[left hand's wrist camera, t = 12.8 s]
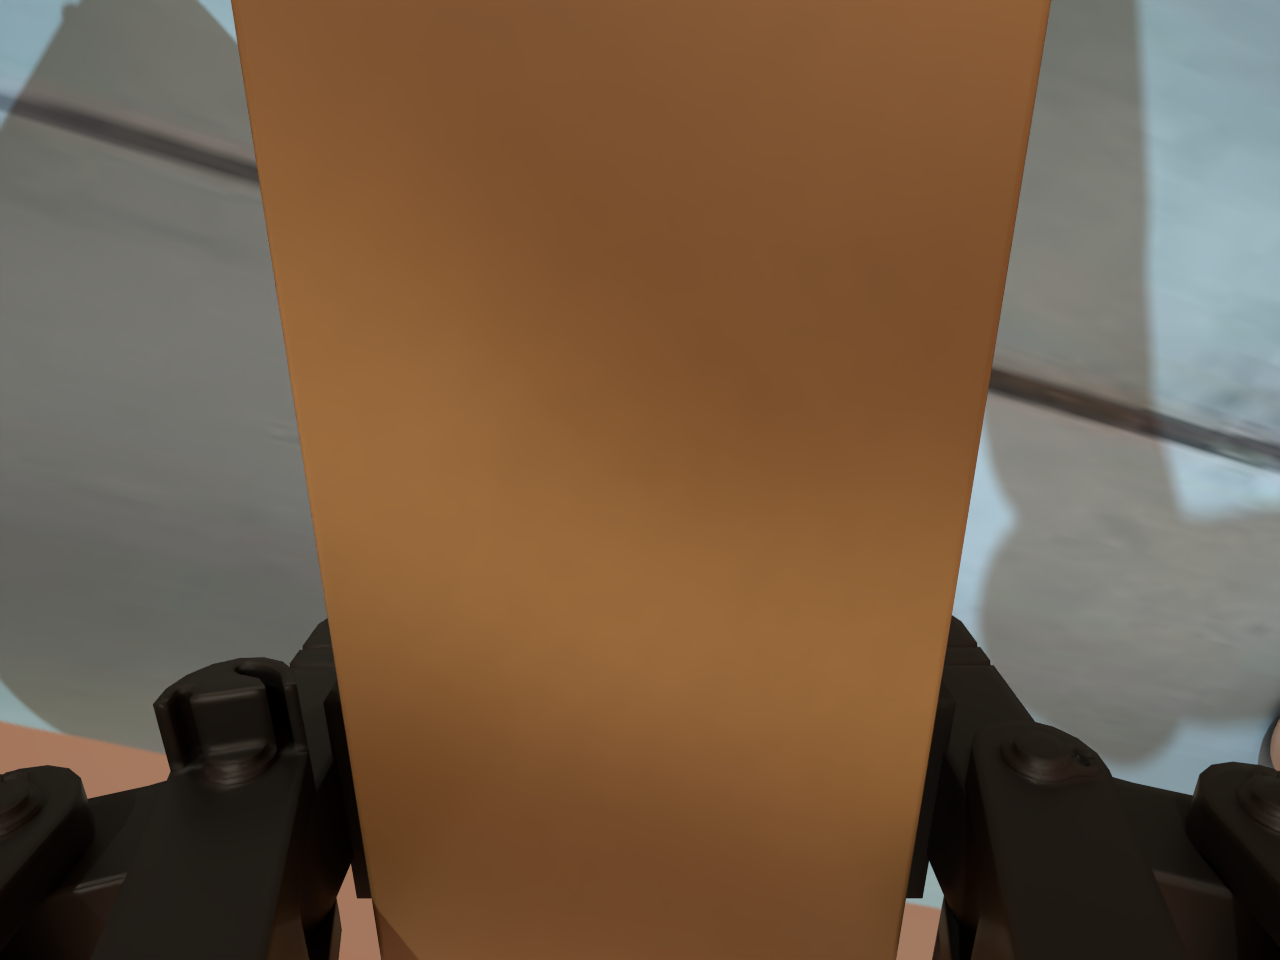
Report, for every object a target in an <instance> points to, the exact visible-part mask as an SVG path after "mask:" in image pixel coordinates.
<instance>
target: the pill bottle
mask: <svg viewBox="0 0 1280 960" xmlns="http://www.w3.org/2000/svg"><path fill="white" fill-rule="evenodd" d="M1270 754H1271V760H1272V764H1273V767H1274V769H1275V770H1277V771H1279V770H1280V719H1279V721H1278V723H1277V725H1276V727H1275V729H1274V732H1273V735H1272V739H1271V746H1270Z"/></svg>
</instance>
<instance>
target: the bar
mask: <svg viewBox="0 0 1280 960" xmlns="http://www.w3.org/2000/svg"><path fill="white" fill-rule="evenodd" d="M231 4H232V10H233V16H234V23H235V29H236V36H237V42H238V48H239V55H240V61H241V67H242V74H243V80H244V87H245V93H246V99H247V106H248V112H249V118H250V125H251V131H252V138H253V144H254V150H255V157H256V163H257V170H258V176H259V182H260V189H261V195H262V201H263V208H264V214H265V221H266V227H267V233H268V240H269V246H270V252H271V259H272V265H273V272H274V278H275V284H276V291H277V297H278V304H279V310H280V316H281V323H282V329H283V335H284V342H285V348H286V355H287V361H288V367H289V374H290V380H291V386H292V393H293V399H294V406H295V412H296V418H297V425H298V431H299V438H300V444H301V450H302V457H303V463H304V469H305V476H306V482H307V489H308V495H309V501H310V508H311V514H312V520H313V527H314V533H315V540H316V546H317V552H318V559H319V565H320V571H321V578H322V584H323V591H324V597H325V603H326V610H327V616H328V623H329V629H330V635H331V642H332V648H333V654H334V661H335V667H336V674H337V680H338V686H339V693H340V699H341V705H342V712H343V718H344V725H345V731H346V737H347V744H348V750H349V757H350V763H351V769H352V776H353V782H354V788H355V795H356V801H357V808H358V814H359V820H360V827H361V833H362V839H363V846H364V852H365V859H366V865H367V871H368V878H369V884H370V891H371V897H372V903H373V910H374V916H375V922H376V929H377V935H378V942H379V948H380V954H381V960H896V956H897V950H898V944H899V938H900V932H901V926H902V919H903V913H904V907H905V901H906V895H907V888H908V882H909V876H910V870H911V864H912V858H913V851H914V845H915V839H916V833H917V827H918V820H919V814H920V808H921V802H922V796H923V789H924V783H925V777H926V771H927V765H928V759H929V752H930V746H931V740H932V734H933V728H934V721H935V715H936V709H937V703H938V697H939V690H940V684H941V678H942V672H943V666H944V660H945V653H946V647H947V641H948V635H949V629H950V622H951V616H952V610H953V604H954V598H955V591H956V585H957V579H958V573H959V567H960V561H961V554H962V548H963V542H964V536H965V530H966V523H967V517H968V511H969V505H970V499H971V492H972V486H973V480H974V474H975V468H976V462H977V455H978V449H979V443H980V437H981V431H982V424H983V418H984V412H985V406H986V400H987V394H988V387H989V381H990V375H991V369H992V363H993V356H994V350H995V344H996V338H997V332H998V325H999V319H1000V313H1001V307H1002V301H1003V295H1004V288H1005V282H1006V276H1007V270H1008V264H1009V257H1010V251H1011V245H1012V239H1013V233H1014V226H1015V220H1016V214H1017V208H1018V202H1019V196H1020V189H1021V183H1022V177H1023V171H1024V165H1025V158H1026V152H1027V146H1028V140H1029V134H1030V127H1031V121H1032V115H1033V109H1034V103H1035V97H1036V90H1037V84H1038V78H1039V72H1040V66H1041V59H1042V53H1043V47H1044V41H1045V35H1046V29H1047V22H1048V16H1049V10H1050V4H1051V0H231Z"/></svg>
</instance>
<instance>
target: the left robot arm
mask: <svg viewBox="0 0 1280 960" xmlns="http://www.w3.org/2000/svg"><path fill="white" fill-rule="evenodd" d="M153 707H154V710H155V714H156V718H157V722H158V725H159V729H160V733H161V737H162V740H163V744H164V748H165V752H166V755H167V759H168V763H169V767H170V770H171V772H170V774H169V777H168V779H167V781H164V782H160V783H156V784H153V785H150V786H145V787H141V788H136V789H131V790H127V791H122V792H118V793H113V794H108V795H104V796H99V797H94V798H90V799H87V796H86V793H85V790H84V787H83V784H82V780H81V778H80V777H79V776H78V775H76V774H75V773H74V772H73V771H72V770H70V769H69V768H63V767H56V766H49V765H46V766H38V767H30V768H23V769H18V770H15V771H10V772H6V773H5V774H2V775H1V774H0V960H338V959H339V950H340V940H341V931H342V929H341V922H340V915H339V909H338V904H337V898H336V897H337V895H338V892H339V890H340V887H341V885H342V883H343V880H344V878H345V876H346V873H347V871H348V869H349V866H350V864H351V866H352V872H353V878H354V883H355V889H356V895H357V898H372V897H371V891H370V884H369V878H368V871H367V865H366V859H365V852H364V846H363V839H362V833H361V827H360V820H359V814H358V808H357V801H356V795H355V788H354V782H353V776H352V769H351V763H350V757H349V750H348V744H347V737H346V731H345V725H344V718H343V712H342V705H341V699H340V693H339V686H338V680H337V674H336V667H335V661H334V654H333V648H332V642H331V635H330V629H329V623H328V618H327V619H326V620H324V621H323V622H321V623H320V624H318V626H317V627H316V628H315V630H314V631H313V632H312V634H311V635H310V637H309V638H308V639H307V641H306V642H305V643H304V645H303V650H299V652H298V653H297V654H296V656H295V657H294V659H293V660H292V661H291V663H290V667H289V666H287V665H286V664H285V663H284V662H282V661H277V660H273V659H269V658H264V657H260V658H238V659H234V660H229V661H225V662H220V663H216V664H212V665H210V666H207V667H205V668H202V669H200V670H198V671H195V672H193V673H190V674H188V675H186V676H185V677H183V678H182V679H180V680H179V681H177V682H176V683H174V684H173V685H171V686H170V687H168V688H167V689H166V690H165V691H164V692H163V693H162V694H161V695H160V697H159V698H158V699H157V700H156V701H155V703H154V704H153ZM929 861H930V863H931V866H932V868H933V871H934V873H935V875H936V878H937V880H938V882H939V885H940V887H941V889H942V892H943V894H944V898H943V904H942V909H941V914H940V920H939V925H938V931H937V936H936V941H935V947H934V952H933V957H932V960H1280V770H1279V771H1277V770H1275V769H1273V768H1268V767H1265V766H1261V765H1254V764H1246V763H1239V762H1228V763H1221V764H1214V765H1211V766H1209V767H1208V768H1207V769H1206V770H1205V771H1203V772H1202V773H1201V774H1200V775H1199V778H1198V781H1197V784H1196V788H1195V791H1194V794H1193V796H1192V795H1188V794H1183V793H1178V792H1174V791H1169V790H1164V789H1160V788H1155V787H1150V786H1146V785H1141V784H1136V783H1132V782H1128V781H1125V780H1121V779H1118V778H1114V777H1112V775H1111V773H1110V771H1109V769H1108V768H1107V766H1106V765H1105V764H1104V762H1103V761H1102V759H1101V758H1100V757H1099V755H1098V754H1097V753H1096V752H1095V751H1093V750H1092V749H1091V748H1090V747H1088V746H1087V745H1086V744H1084V743H1083V742H1082V741H1080V740H1079V739H1078V738H1076V737H1074V736H1072V735H1070V734H1067V733H1065V732H1063V731H1061V730H1059V729H1057V728H1055V727H1052V726H1049V725H1045V724H1041V723H1037V722H1035V721H1034V720H1033V718H1032V717H1031V716H1030V714H1029V713H1028V712H1027V710H1026V709H1025V707H1024V706H1023V705H1022V703H1021V702H1020V701H1019V699H1018V698H1017V697H1016V695H1015V694H1014V692H1013V691H1012V690H1011V688H1010V687H1009V686H1008V684H1007V683H1006V682H1005V680H1004V679H1003V677H1002V676H1001V675H1000V673H999V672H998V671H997V669H996V668H995V667H994V665H990V660H989V658H988V657H987V656H986V654H985V653H984V652H983V650H982V649H981V648H980V647H977V642H976V641H975V639H974V638H973V637H972V635H971V634H970V633H969V631H968V630H967V628H966V627H965V626H964V624H963V623H962V622H961V621H960V620H958V619H957V618H955V617H954V616H951V622H950V629H949V635H948V641H947V647H946V653H945V660H944V666H943V672H942V678H941V684H940V690H939V697H938V703H937V709H936V715H935V721H934V728H933V734H932V740H931V746H930V752H929V759H928V765H927V771H926V777H925V783H924V789H923V796H922V802H921V808H920V814H919V820H918V827H917V833H916V839H915V845H914V851H913V858H912V864H911V870H910V876H909V882H908V888H907V895H906V898H923V892H924V886H925V881H926V875H927V869H928V863H929Z"/></svg>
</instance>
